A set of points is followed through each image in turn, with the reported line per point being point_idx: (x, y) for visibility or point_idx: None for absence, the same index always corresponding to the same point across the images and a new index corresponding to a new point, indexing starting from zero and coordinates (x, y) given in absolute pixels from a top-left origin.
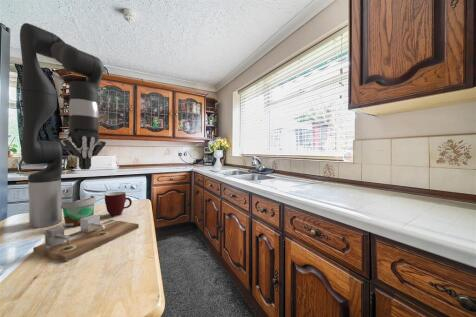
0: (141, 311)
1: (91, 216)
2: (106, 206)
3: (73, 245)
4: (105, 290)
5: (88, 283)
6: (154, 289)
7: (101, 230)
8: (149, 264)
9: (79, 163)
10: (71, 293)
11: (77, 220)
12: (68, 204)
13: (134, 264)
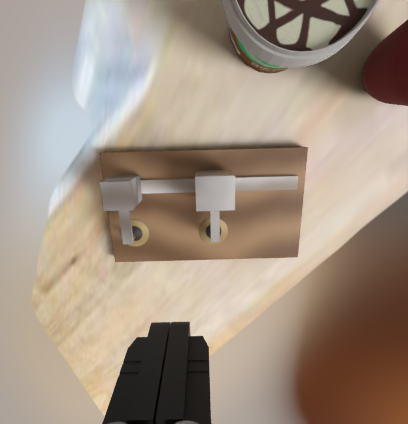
0: None
1: (223, 188)
2: (379, 49)
3: (146, 230)
4: (108, 368)
5: (106, 340)
6: None
7: None
8: None
9: (122, 378)
10: (84, 340)
11: (250, 60)
12: (237, 19)
13: None
